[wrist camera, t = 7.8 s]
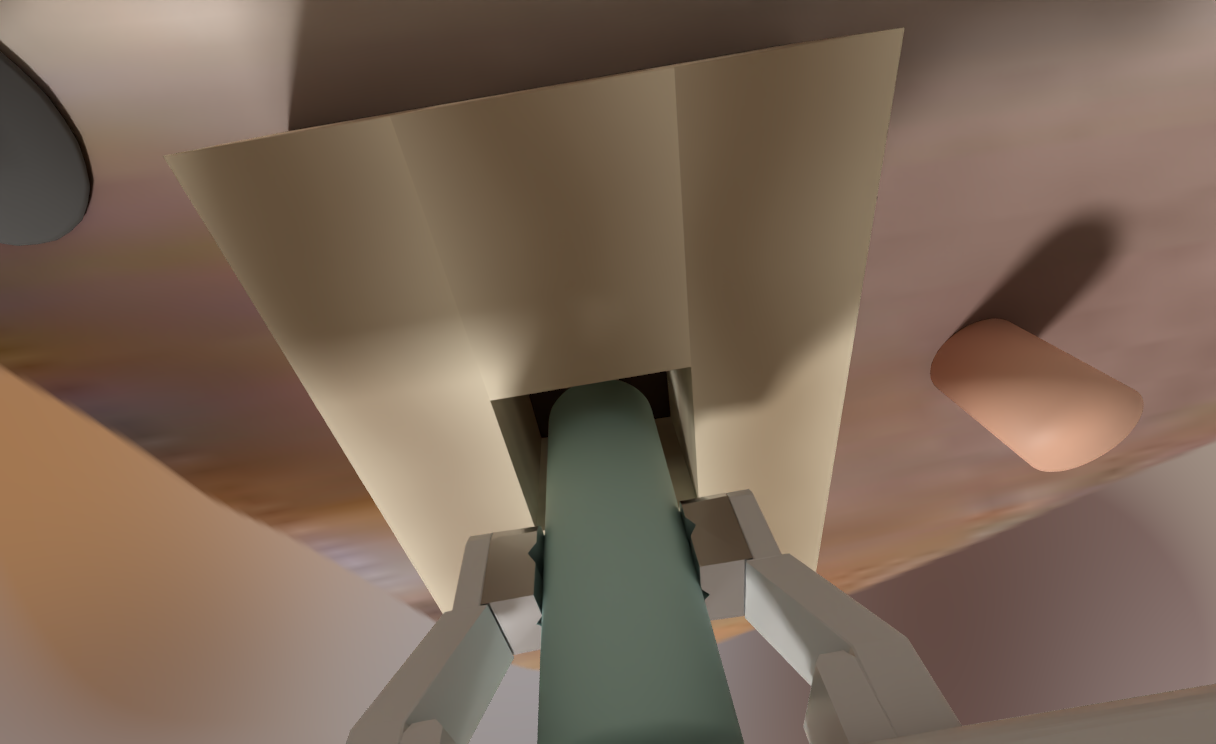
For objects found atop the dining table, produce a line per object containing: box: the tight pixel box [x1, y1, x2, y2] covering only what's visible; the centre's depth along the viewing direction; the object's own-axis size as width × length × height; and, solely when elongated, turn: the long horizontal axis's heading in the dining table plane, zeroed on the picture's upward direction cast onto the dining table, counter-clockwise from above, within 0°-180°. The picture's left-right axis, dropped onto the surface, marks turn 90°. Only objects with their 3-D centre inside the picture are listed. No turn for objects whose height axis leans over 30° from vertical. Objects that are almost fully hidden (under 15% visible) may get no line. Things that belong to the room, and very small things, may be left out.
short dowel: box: [930, 319, 1143, 472], centre depth 14 cm, size 3×3×4 cm
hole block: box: [163, 27, 905, 614], centre depth 13 cm, size 12×16×4 cm
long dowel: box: [537, 380, 744, 744], centre depth 10 cm, size 3×3×8 cm
